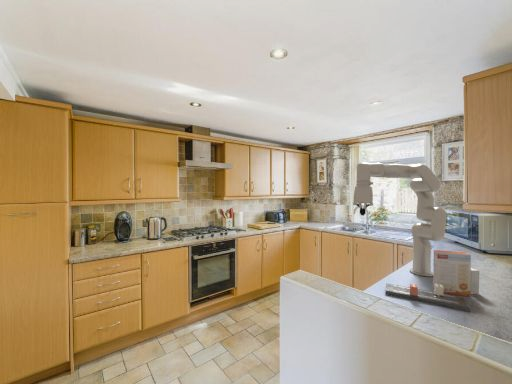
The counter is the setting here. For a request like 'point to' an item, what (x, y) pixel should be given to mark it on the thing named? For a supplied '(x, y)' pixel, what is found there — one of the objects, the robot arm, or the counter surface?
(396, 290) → the console
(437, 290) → the block
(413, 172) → the robot arm
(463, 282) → the cracker box
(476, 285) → the skincare box
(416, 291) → the rust fader
